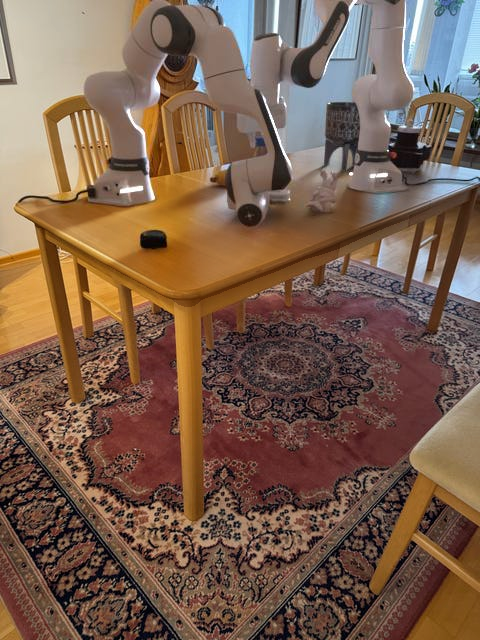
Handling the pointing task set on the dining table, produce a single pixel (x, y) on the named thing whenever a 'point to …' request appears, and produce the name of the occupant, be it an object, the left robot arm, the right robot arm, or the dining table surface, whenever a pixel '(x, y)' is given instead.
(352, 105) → the planter
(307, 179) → the dining table surface
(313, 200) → the figurine
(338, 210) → the dining table surface
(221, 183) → the toy
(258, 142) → the cap
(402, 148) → the mechanical component
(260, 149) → the bottle
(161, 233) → the tape measure
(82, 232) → the dining table surface
